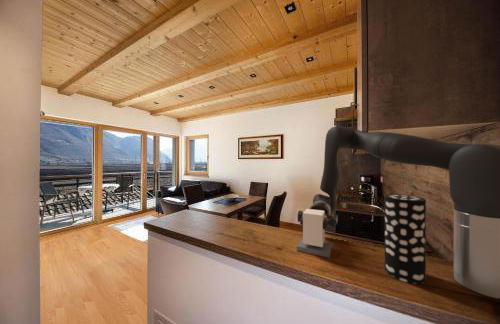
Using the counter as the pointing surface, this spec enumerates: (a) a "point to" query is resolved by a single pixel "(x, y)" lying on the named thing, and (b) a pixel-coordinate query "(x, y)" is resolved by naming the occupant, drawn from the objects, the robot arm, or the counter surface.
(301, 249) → the base plate
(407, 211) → the white-spotted black cylinder
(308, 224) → the block
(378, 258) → the counter surface
